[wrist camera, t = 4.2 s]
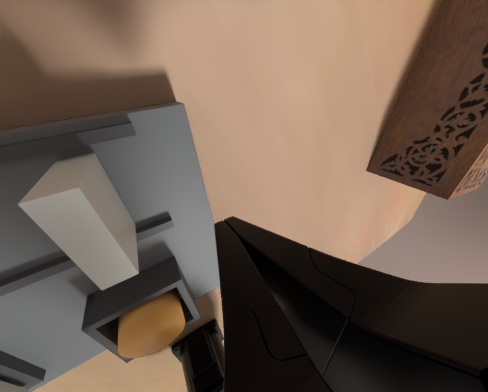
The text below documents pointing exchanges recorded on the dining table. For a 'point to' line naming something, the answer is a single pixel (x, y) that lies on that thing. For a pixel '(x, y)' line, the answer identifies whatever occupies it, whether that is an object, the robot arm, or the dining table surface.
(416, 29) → the dining table surface
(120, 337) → the push button
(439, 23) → the tissue box cover
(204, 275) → the panel
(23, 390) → the white slab
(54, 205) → the grey angular block
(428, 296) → the robot arm
